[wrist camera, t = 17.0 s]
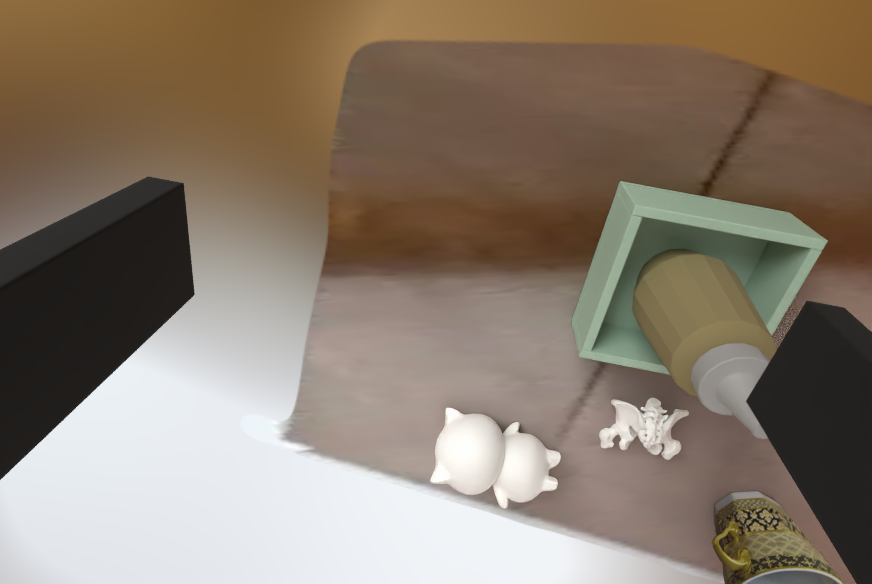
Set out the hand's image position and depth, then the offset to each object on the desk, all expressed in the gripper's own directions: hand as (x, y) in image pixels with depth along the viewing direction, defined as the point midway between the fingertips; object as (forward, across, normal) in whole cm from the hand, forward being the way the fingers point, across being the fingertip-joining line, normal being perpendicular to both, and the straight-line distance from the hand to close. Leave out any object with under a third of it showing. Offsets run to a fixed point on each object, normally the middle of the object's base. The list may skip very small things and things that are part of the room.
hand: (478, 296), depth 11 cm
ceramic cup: (+32, +35, -38) cm, 61 cm away
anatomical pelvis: (+32, +21, -28) cm, 47 cm away
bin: (+32, +18, -12) cm, 38 cm away
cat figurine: (+32, +7, -35) cm, 48 cm away
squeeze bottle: (+31, +18, -12) cm, 38 cm away
